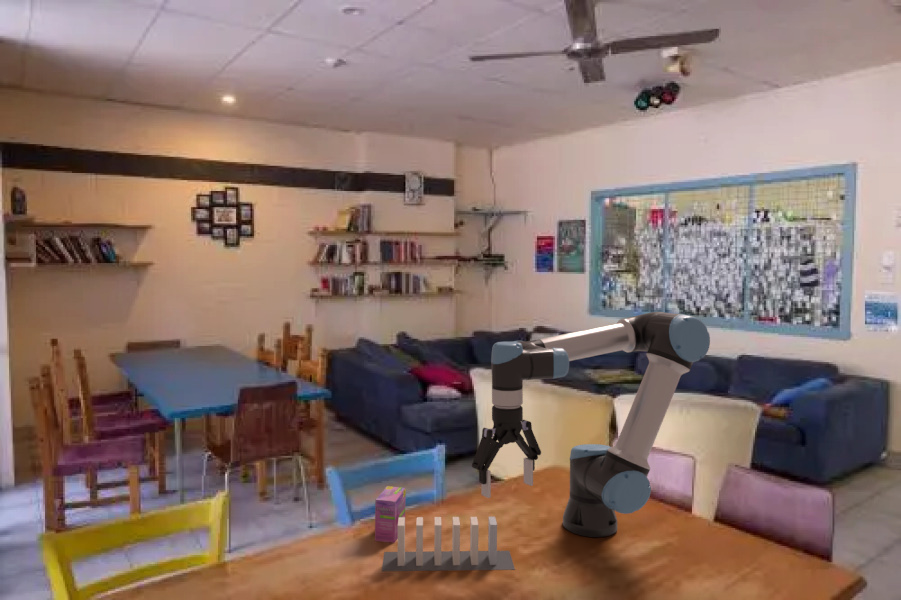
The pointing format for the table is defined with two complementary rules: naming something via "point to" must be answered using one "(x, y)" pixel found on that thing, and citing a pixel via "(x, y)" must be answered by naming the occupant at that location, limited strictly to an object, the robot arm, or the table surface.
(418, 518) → the domino
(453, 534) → the domino
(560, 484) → the table surface
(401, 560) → the domino
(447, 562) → the mat
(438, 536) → the domino
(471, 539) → the domino
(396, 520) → the box
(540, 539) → the table surface
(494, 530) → the domino
